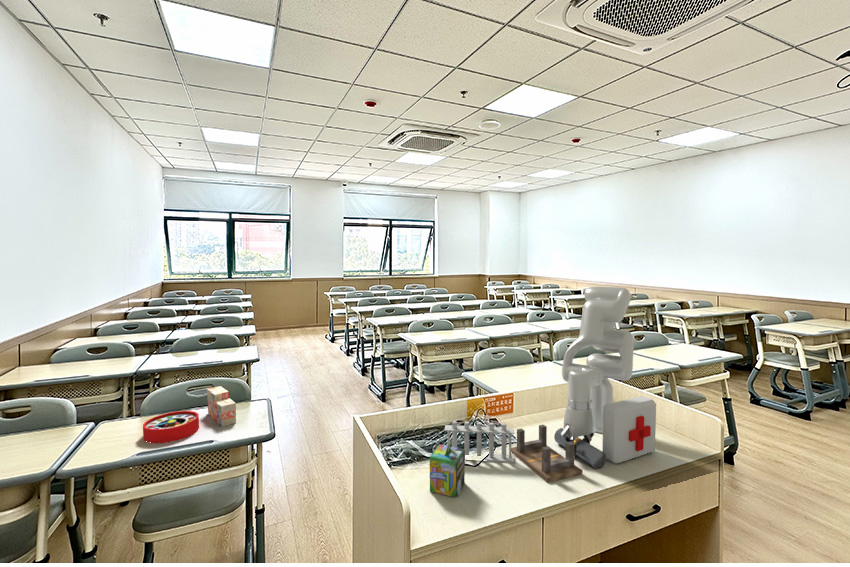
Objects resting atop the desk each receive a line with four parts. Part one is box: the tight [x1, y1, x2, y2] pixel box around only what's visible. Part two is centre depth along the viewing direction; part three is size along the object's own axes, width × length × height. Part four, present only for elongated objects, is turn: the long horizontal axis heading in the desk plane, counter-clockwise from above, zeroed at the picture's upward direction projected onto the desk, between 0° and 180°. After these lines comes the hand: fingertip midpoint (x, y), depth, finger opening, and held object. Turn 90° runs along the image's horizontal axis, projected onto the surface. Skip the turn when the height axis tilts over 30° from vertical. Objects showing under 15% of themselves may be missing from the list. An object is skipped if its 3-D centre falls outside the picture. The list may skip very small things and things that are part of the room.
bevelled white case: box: [601, 395, 657, 465], centre depth 143 cm, size 21×8×20 cm, turn 115°
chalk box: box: [429, 440, 466, 498], centre depth 125 cm, size 9×9×15 cm
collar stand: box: [511, 424, 583, 484], centre depth 140 cm, size 14×22×10 cm, turn 20°
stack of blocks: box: [206, 385, 237, 427], centre depth 183 cm, size 21×6×12 cm, turn 43°
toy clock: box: [142, 410, 200, 444], centre depth 168 cm, size 20×6×20 cm
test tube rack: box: [443, 420, 516, 464], centre depth 143 cm, size 25×4×13 cm, turn 83°
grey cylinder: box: [553, 427, 607, 469], centre depth 145 cm, size 6×20×6 cm, turn 20°
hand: (578, 451), depth 145 cm, fingers closed on grey cylinder, 6 cm apart
